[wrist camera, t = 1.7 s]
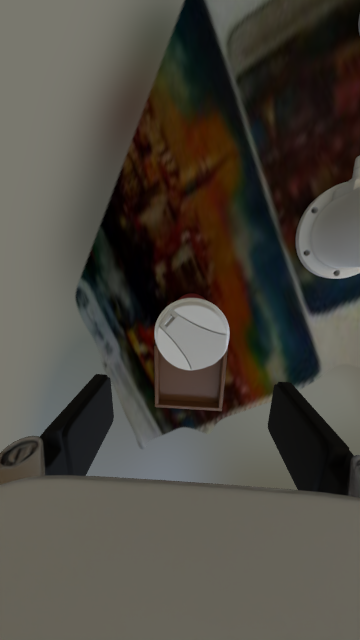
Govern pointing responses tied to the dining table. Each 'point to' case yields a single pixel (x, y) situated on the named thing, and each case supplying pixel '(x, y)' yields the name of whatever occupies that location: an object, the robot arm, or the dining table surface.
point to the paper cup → (192, 333)
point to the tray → (189, 385)
